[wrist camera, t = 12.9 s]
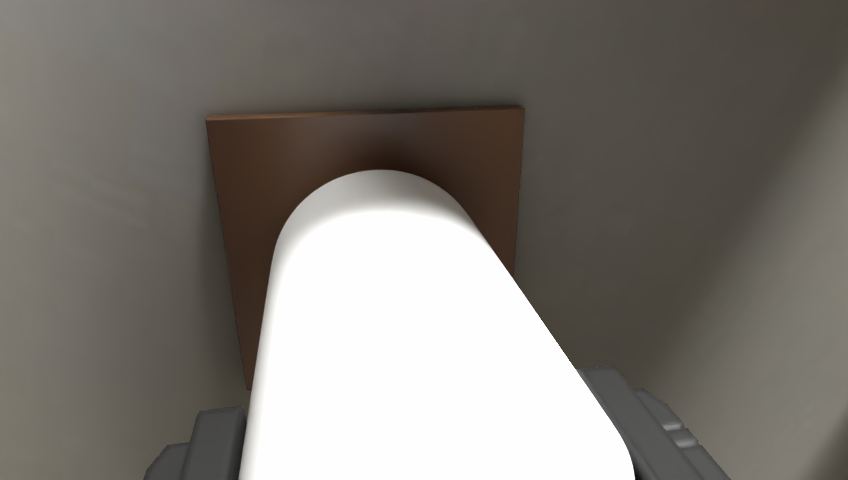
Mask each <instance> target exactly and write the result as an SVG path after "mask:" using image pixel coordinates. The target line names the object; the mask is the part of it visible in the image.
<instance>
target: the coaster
mask: <svg viewBox="0 0 848 480" xmlns="http://www.w3.org/2000/svg"><path fill="white" fill-rule="evenodd" d="M524 117H525V108H524V107H522V106H520V105H508V106H479V107H450V108H421V109H392V110H363V111H335V112H306V113H277V114H248V115H219V116H208V117H207V119H206V127H207V134H208V140H209V147H210V153H211V160H212V166H213V173H214V179H215V186H216V192H217V199H218V205H219V212H220V218H221V225H222V231H223V238H224V244H225V251H226V257H227V264H228V270H229V277H230V283H231V290H232V296H233V303H234V309H235V316H236V322H237V329H238V335H239V342H240V348H241V354H242V361H243V367H244V374H245V380H246V387H247V390H252V386H253V379H254V372H255V366H256V359H257V353H258V346H259V340H260V333H261V327H262V320H263V314H264V307H265V301H266V294H267V288H268V282H269V276H270V270H271V264H272V259H273V254H274V250H275V246H276V243H277V240H278V237H279V235H280V233H281V231H282V229H283V227H284V225H285V223H286V221H287V220H288V218H289V217H290V215H291V214H292V213H293V211H294V210H295V209H296V208H297V206H298V205H299V204H300V203H301V202H302V201H303V200H304V199H305V198H307V197H308V196H309V195H310V194H311V193H313V192H314V191H315V190H317V189H318V188H320V187H321V186H323V185H325V184H327V183H328V182H330V181H333V180H335V179H337V178H340V177H342V176H345V175H348V174H352V173H356V172H361V171H368V170H394V171H401V172H406V173H410V174H413V175H416V176H419V177H421V178H424V179H426V180H428V181H430V182H432V183H434V184H435V185H437V186H439V187H440V188H441V189H443V190H444V191H446V192H447V193H448V194H449V195H451V196H452V197H453V198H454V199H455V200H456V201H457V202H458V203H459V204H460V206H461V207H462V208H463V209H464V211H465V212H466V213H467V214H468V216H469V217H470V218H471V220H472V221H473V223H474V224H475V225H476V227H477V228H478V230H479V231H480V232H481V234H482V235H483V237H484V238H485V240H486V241H487V243H488V244H489V245H490V247H491V248H492V250H493V251H494V253H495V254H496V255H497V257H498V258H499V260H500V261H501V263H502V264H503V266H504V267H505V268H506V270H507V271H508V273H509V274H510V276H511V277H512V279H513V275H514V260H515V246H516V232H517V217H518V203H519V189H520V174H521V160H522V146H523V131H524Z"/></svg>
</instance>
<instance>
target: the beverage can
mask: <svg viewBox="0 0 848 480" xmlns="http://www.w3.org/2000/svg"><path fill="white" fill-rule="evenodd" d="M238 480H635V476H634V470H633V465H632V462H631V458H630V455H629V453H628V450H627V448H626V446H625V444H624V442H623V440H622V438H621V436H620V435H619V433H618V431H617V430H616V428H615V427H614V425H613V424H612V422H611V421H610V419H609V418H608V417H607V415H606V414H605V412H604V411H603V409H602V408H601V406H600V405H599V403H598V402H597V400H596V399H595V398H594V396H593V395H592V393H591V392H590V390H589V389H588V387H587V386H586V384H585V383H584V382H583V380H582V379H581V377H580V376H579V374H578V373H577V371H576V370H575V369H574V367H573V366H572V364H571V363H570V361H569V360H568V358H567V357H566V355H565V354H564V353H563V351H562V350H561V348H560V347H559V345H558V344H557V342H556V341H555V339H554V338H553V337H552V335H551V334H550V332H549V331H548V329H547V328H546V326H545V325H544V324H543V322H542V321H541V319H540V318H539V316H538V315H537V313H536V312H535V310H534V309H533V308H532V306H531V305H530V303H529V302H528V300H527V299H526V297H525V296H524V295H523V293H522V292H521V290H520V289H519V287H518V286H517V284H516V283H515V281H514V280H513V279H512V277H511V276H510V274H509V273H508V271H507V270H506V268H505V267H504V266H503V264H502V263H501V261H500V260H499V258H498V257H497V255H496V254H495V253H494V251H493V250H492V248H491V247H490V245H489V244H488V243H487V241H486V240H485V238H484V237H483V235H482V234H481V232H480V231H479V230H478V228H477V227H476V225H475V224H474V223H473V221H472V220H471V218H470V217H469V216H468V214H467V213H466V212H465V211H464V209H463V208H462V207H461V206H460V204H459V203H458V202H457V201H456V200H455V199H454V198H453V197H452V196H451V195H449V194H448V193H447V192H446V191H444V190H443V189H441V188H440V187H439V186H437V185H435V184H434V183H432V182H430V181H428V180H426V179H424V178H421V177H419V176H416V175H413V174H410V173H406V172H401V171H394V170H368V171H361V172H356V173H352V174H348V175H345V176H342V177H340V178H337V179H335V180H333V181H330V182H328V183H327V184H325V185H323V186H321V187H320V188H318V189H317V190H315V191H314V192H313V193H311V194H310V195H309V196H308V197H307V198H305V199H304V200H303V201H302V202H301V203H300V204H299V205H298V206H297V208H296V209H295V210H294V211H293V213H292V214H291V215H290V217H289V218H288V220H287V221H286V223H285V225H284V227H283V229H282V231H281V233H280V235H279V237H278V240H277V243H276V246H275V250H274V254H273V259H272V264H271V270H270V276H269V282H268V288H267V294H266V301H265V307H264V314H263V320H262V327H261V333H260V340H259V346H258V353H257V359H256V366H255V372H254V379H253V386H252V392H251V399H250V405H249V412H248V419H247V425H246V432H245V438H244V445H243V452H242V458H241V465H240V471H239V478H238Z"/></svg>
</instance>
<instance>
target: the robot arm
mask: <svg viewBox="0 0 848 480" xmlns="http://www.w3.org/2000/svg"><path fill="white" fill-rule="evenodd" d="M575 370H576V371H577V373H578V374H579V376H580V377H581V379H582V380H583V382H584V383H585V384H586V386H587V387H588V389H589V390H590V392H591V393H592V395H593V396H594V398H595V399H596V400H597V402H598V403H599V405H600V406H601V408H602V409H603V411H604V412H605V414H606V415H607V417H608V418H609V419H610V421H611V422H612V424H613V425H614V427H615V428H616V430H617V431H618V433H619V435H620V436H621V438H622V440H623V442H624V444H625V446H626V448H627V450H628V453H629V455H630V458H631V462H632V465H633V470H634V476H635V480H731V479H730V478H729V477H728V476H727V475H726V473H725V472H724V471H723V470H722V469H721V468H720V466H719V465H718V464H717V463H716V462H715V460H714V459H713V458H712V457H711V456H710V455H709V453H708V452H707V451H706V450H705V449H704V447H703V446H702V445H700V446H699V444H698V440H697V439H696V438H695V437H694V436H693V434H692V433H691V432H690V431H689V430H688V429H687V428H686V429H685V428H684V424H683V423H682V421H681V420H680V419H679V418H678V417H677V416H676V414H675V413H674V412H673V411H672V410H671V408H670V407H669V406H668V405H667V404H666V403H664V402H663V401H661V400H660V399H658V398H657V397H655V396H654V395H652V394H651V393H649V392H648V391H646V390H645V389H643V388H640V389H633V388H632V387H631V386H630V384H629V383H628V382H627V381H626V379H625V378H624V377H623V376H622V374H621V373H620V372H619V371H618V370H617V368H615V367H614V366H612V365H609V366H600V367H591V368H582V369H575ZM246 425H247V423H246V417H245V412H244V409H243V407H242V406H240V407H232V408H223V409H214V410H205V411H200V412H199V413H198V415H197V417H196V421H195V425H194V428H193V432H192V436H191V439H190V442H188V443H180V444H172V445H167V446H166V447H165V449H164V450H163V451H162V452H161V453H160V455H159V456H158V457H157V458H156V459H155V460H154V462H153V463H152V464H151V465H150V466H149V468H148V469H147V471H146V474H145V476H144V479H143V480H238V478H239V471H240V465H241V458H242V452H243V445H244V438H245V432H246Z"/></svg>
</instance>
